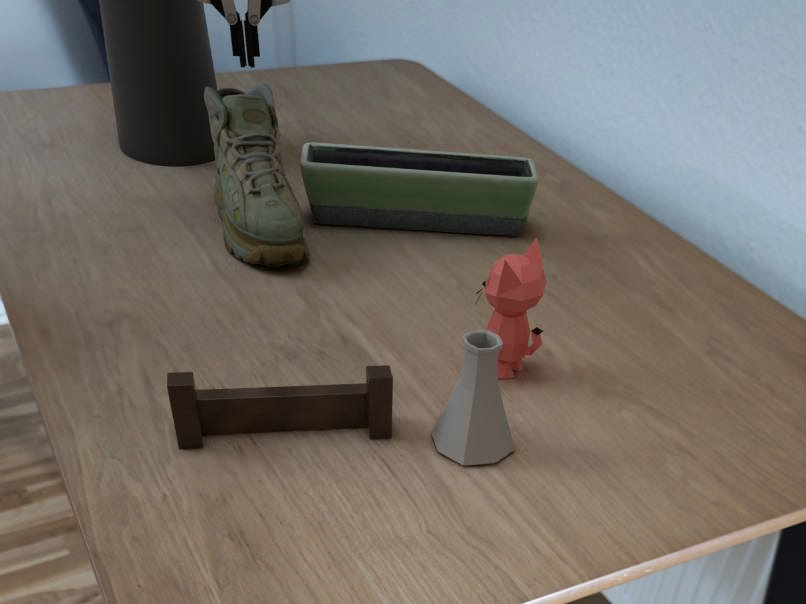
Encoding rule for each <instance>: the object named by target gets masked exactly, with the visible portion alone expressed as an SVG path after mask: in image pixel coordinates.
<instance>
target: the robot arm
mask: <svg viewBox="0 0 806 604" xmlns="http://www.w3.org/2000/svg"><path fill="white" fill-rule="evenodd" d="M197 1H200V2H203V4H208V5H211V6H212V7H213V8H214V9H215V10H216V11H217V12H218V13H219V14H220V15H221V17H223V18H224V19H225V20H226V22H227V24H228V26H229V33H230V41H231V42H230V43H231V51H232V57H238V58H239V65H240V68H246V67H249V68H251V69H253V68H256V62H255V58H261V49H260V39H259V28H258V26H259V25H260V22H261V20H262V19H263V18H264V16H265V15H266V14H267V13H268V11H269V10H270V9H271V8H272V7H277V6H282V5H285V4H288V3H291V2H292V1H291V0H247V8H246V9H247V10H246V12H245V13H244V20H242V19H241V14H240V13H239V12H238V10H237V8H236V3H235V0H197Z"/></svg>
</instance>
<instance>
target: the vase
mask: <svg viewBox="0 0 806 604" xmlns="http://www.w3.org/2000/svg"><path fill="white" fill-rule="evenodd" d="M98 4H99V10H100V17H101V26H102V30H103V31H102V32H103V39H104V45H105V53H106V61H107V65H108V66H107V67H108V74H109V82H110V89H111V96H112V104H113V109H114V118H115V125H116V130H117V138H118V144H119V148H120V150H121V152H122V153H123V154H124V155H126V156H127V157H129V158H131V159H133V160H136V161H138V162H142V163H147V164H151V165H158V166H170V167H171V166H174V167H175V166H177V167H178V166H191V165H199V164H202V163H203V164H204V163H207V162H211V161H213V160H215V152H214V142H213V140H212V135H211V129H210V123H209V114H208V110H207V107H206V104H205V100H204V92H205V87H210V88H212V89H214V90H215V91H217V90H218V83H217V79H216V78H217V77H216V72H215V67H214V59H213V55H212V48H211V40H210V35H209V29H208V24H207V23H208V22H207V17H206V12H205V3H204V2H200V1H197V0H98Z"/></svg>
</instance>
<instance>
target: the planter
mask: <svg viewBox="0 0 806 604" xmlns="http://www.w3.org/2000/svg"><path fill="white" fill-rule="evenodd" d="M299 166H300V167H299V168H300V172H301V177H302V181H303V185H304V189H305V193H306V196H307V201H308V205H309V209H310V212H311V216H312V219H313V221H314V223H315V224H319V225H330V226H331V225H332V226H344V227H345V226H348V227H361V228H377V229H392V230H393V229H395V230H407V231H408V230H409V231H413V230H414V231H426V232H441V233H456V234H457V233H458V234H474V235H475V234H476V235H494V236H510V237H511V236H514V237H515V236H516V237H517V236H518V237H519V236H520V235H521V234H522V232H523V230H524V227H525V224H526V221H527V219H528V215H529V213H530V209H531V206H532V204H533V201H534V198H535V194H536V192H537V189H538V185H539V176H538V172H537V168H536V163H535V161H534V160H533V159H531V158H530V157H524V156H523V157H522V156H511V155H500V154H499V155H497V154H486V153H471V152H458V151H443V150H429V149H415V148H401V147H390V146H389V147H388V146H373V145H372V146H371V145H361V144H360V145H358V144H346V143H345V144H344V143H332V142H331V143H329V142H314V141H313V142H312V141H311V142H305V143H304V144H303V145H302V150H301V154H300V161H299Z"/></svg>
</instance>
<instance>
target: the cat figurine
mask: <svg viewBox="0 0 806 604" xmlns="http://www.w3.org/2000/svg"><path fill="white" fill-rule="evenodd" d="M481 285H482V286H483V287H484V291H485V292H484V293H485V296H486V300H487V303H488V304H489V305H490V306H491V307H492V308H493V309H494V310H493V312H492V314H491V316H490V318H489V321H488V323H487V325H486V328H485V330H488V331H490V332H492V333H495V334H497V335H499V336H500V338H501V340H502V342H503V348H502V349H501V350H500V351H499V353H498V362H497V370H498V380H507V379H508V380H509V379H514V377H515V373H514V371H517V372H520V371H522V370H524V366H523V361H522V359H524V358H526V356H530V357H531V356H532V355H534V354H535V353H536V351H537V350H538V349H539V348H540V347H541V346H542V345H543V341H542V336H541V335H542V333H543V332H544V330H543V329H541V328H540V327H538V326H536V327H535V328H533V329H532V330H531V329H530V328H531V327H530V322H529V318H528V313H527V311H528V310H530V309H533V308H535V307H536V306H538V303H539V302H540V301H541V299H542V298H543V296H544V294H545V290H546V287H547V278H546V274H545V271H544V266H543V261H542V256H541V250H540V245H539V241H538V237H535V239H534V240H533V242H532V243H531V244H530V246H529V247H528V248H527V250H526V251H525V253H524V254H516V253H512V254H511V253H510V254H505V255H503V256H502V257H500V258H499V259H497V260H496V261H495V262H493V265H492V267H491V269H490V271H489V273H488V275H487V277H486V280H484V281H482V284H481ZM482 291H483V288H481V289H480V290H478V291H477V292H476V293H475V295H477V294H479V293H480V292H481V293H480V295H479V296H478V298H477V300H476V301H475V304H474V305H475V306H476V305H477V303H478V301H479V299H480V298H481V296H482V294H483V292H482ZM530 336H531V338H532V344H531V346H529V342H530Z"/></svg>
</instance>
